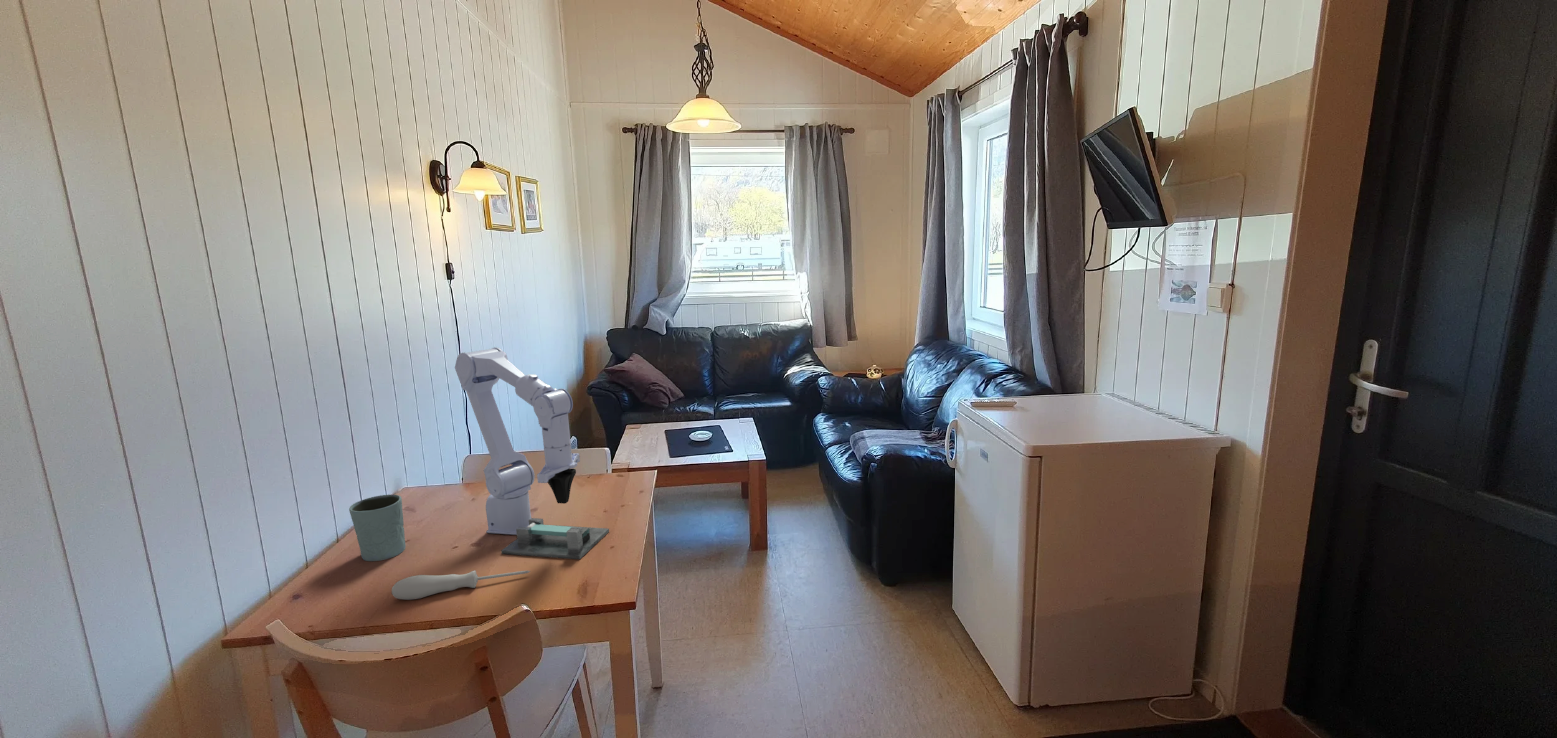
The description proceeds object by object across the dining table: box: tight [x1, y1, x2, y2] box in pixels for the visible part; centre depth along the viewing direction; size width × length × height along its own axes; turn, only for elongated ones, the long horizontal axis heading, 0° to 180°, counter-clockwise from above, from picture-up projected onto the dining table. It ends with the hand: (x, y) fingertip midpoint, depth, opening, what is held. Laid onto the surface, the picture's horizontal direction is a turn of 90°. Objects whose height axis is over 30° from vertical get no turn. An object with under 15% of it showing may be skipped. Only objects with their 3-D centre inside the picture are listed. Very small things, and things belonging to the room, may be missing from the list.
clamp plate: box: [500, 517, 610, 560], centre depth 147 cm, size 19×14×6 cm
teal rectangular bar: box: [527, 523, 589, 538], centre depth 147 cm, size 15×3×2 cm, turn 78°
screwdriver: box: [391, 570, 531, 601], centre depth 128 cm, size 5×25×4 cm, turn 110°
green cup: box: [348, 494, 407, 562], centre depth 144 cm, size 10×10×12 cm
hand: (563, 502), depth 145 cm, fingers closed
